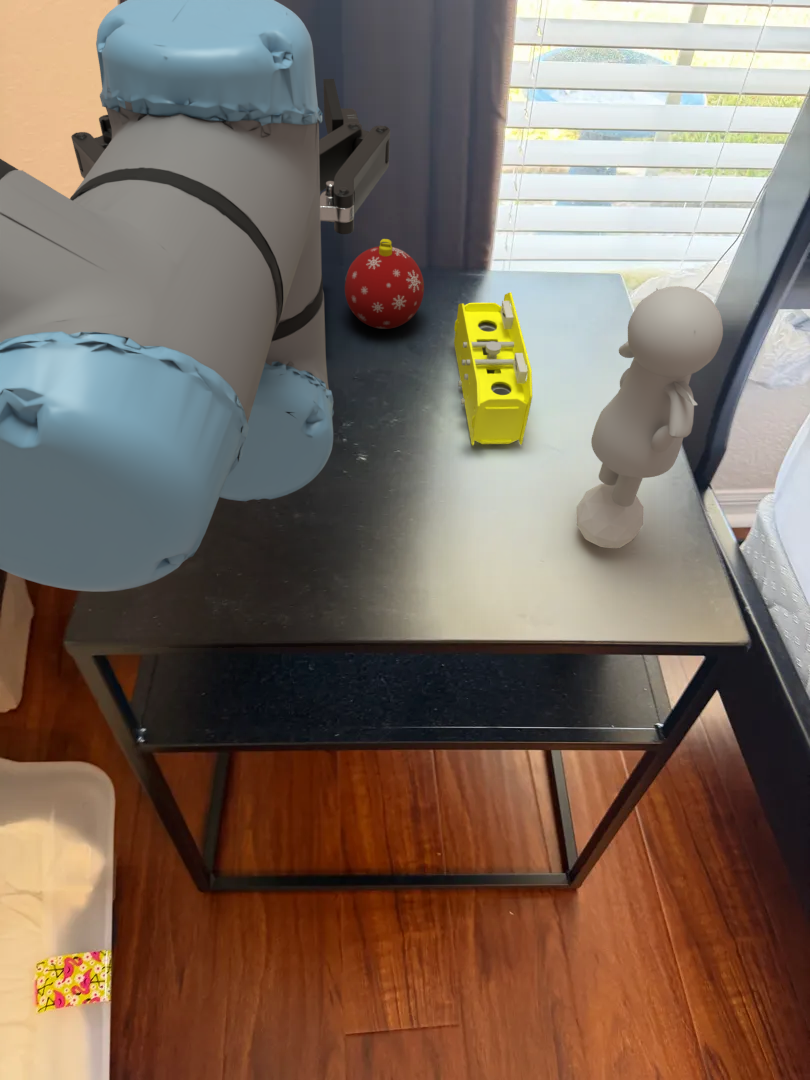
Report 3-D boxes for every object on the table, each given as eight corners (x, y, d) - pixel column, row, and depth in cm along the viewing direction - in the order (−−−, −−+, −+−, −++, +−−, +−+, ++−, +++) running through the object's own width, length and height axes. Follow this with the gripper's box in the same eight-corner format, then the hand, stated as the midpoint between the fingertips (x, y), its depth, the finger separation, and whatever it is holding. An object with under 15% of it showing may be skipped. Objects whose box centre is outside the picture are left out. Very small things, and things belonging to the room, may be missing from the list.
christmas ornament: (415, 349, 90) (421, 267, 83) (337, 339, 91) (336, 256, 83) (426, 304, 96) (432, 223, 88) (353, 294, 96) (353, 213, 89)
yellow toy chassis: (525, 450, 81) (540, 383, 75) (467, 451, 81) (477, 383, 74) (502, 348, 91) (513, 281, 85) (450, 348, 91) (458, 281, 84)
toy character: (543, 500, 77) (605, 256, 58) (608, 487, 78) (690, 245, 59) (593, 590, 70) (682, 349, 51) (663, 573, 72) (775, 333, 53)
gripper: (27, 332, 47) (66, 156, 61) (456, 311, 51) (403, 148, 64) (-18, 208, 42) (36, 43, 55) (469, 193, 45) (408, 41, 58)
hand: (233, 99), depth 60 cm, fingers open, 13 cm apart
